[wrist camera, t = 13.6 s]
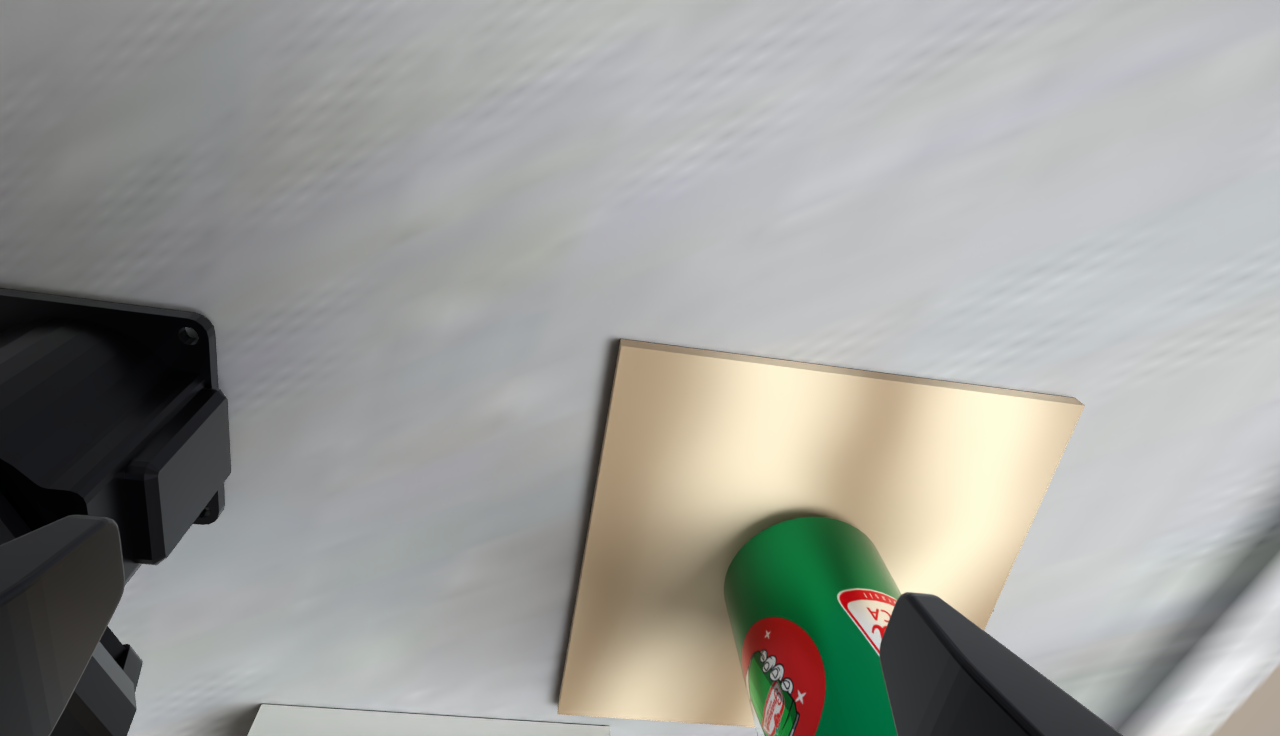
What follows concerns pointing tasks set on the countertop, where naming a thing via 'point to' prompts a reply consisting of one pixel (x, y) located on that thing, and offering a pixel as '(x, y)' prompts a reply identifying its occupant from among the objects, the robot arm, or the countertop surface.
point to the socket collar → (399, 724)
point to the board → (784, 507)
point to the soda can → (812, 628)
